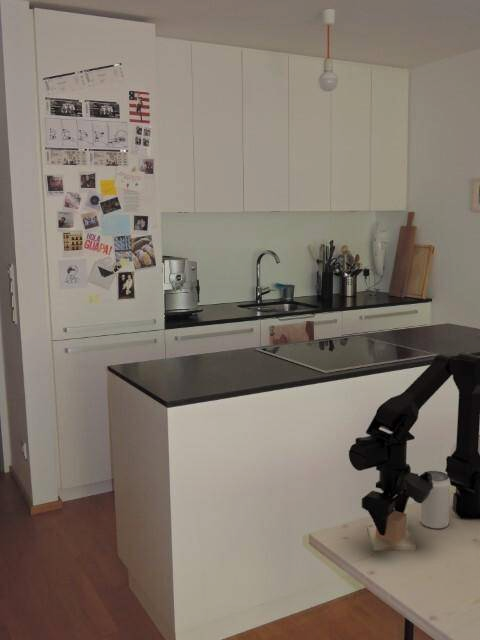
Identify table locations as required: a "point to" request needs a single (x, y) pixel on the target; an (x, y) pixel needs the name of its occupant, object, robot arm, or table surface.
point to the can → (436, 502)
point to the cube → (394, 527)
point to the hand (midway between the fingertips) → (391, 526)
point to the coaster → (381, 544)
